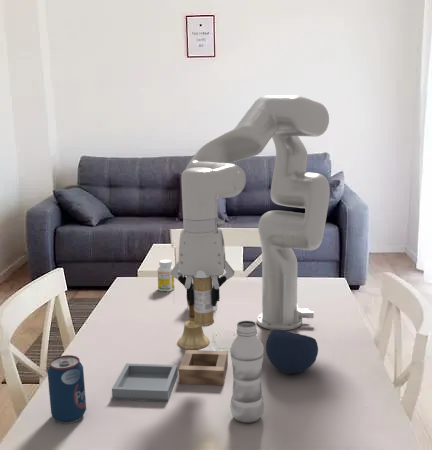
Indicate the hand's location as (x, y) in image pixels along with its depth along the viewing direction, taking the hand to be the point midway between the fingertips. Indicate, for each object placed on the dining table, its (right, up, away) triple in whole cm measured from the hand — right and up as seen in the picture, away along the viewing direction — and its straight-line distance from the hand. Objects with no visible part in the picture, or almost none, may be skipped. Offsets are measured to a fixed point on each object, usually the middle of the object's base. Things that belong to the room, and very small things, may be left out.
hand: (203, 303), depth 135 cm
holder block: (0, -17, +4) cm, 17 cm away
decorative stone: (+20, -16, +4) cm, 26 cm away
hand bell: (-3, -13, +21) cm, 25 cm away
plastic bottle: (+9, -21, -15) cm, 27 cm away
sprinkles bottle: (0, -5, +1) cm, 5 cm away
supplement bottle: (-13, -4, +62) cm, 64 cm away
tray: (-13, -18, -2) cm, 22 cm away
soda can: (-27, -21, -13) cm, 37 cm away
